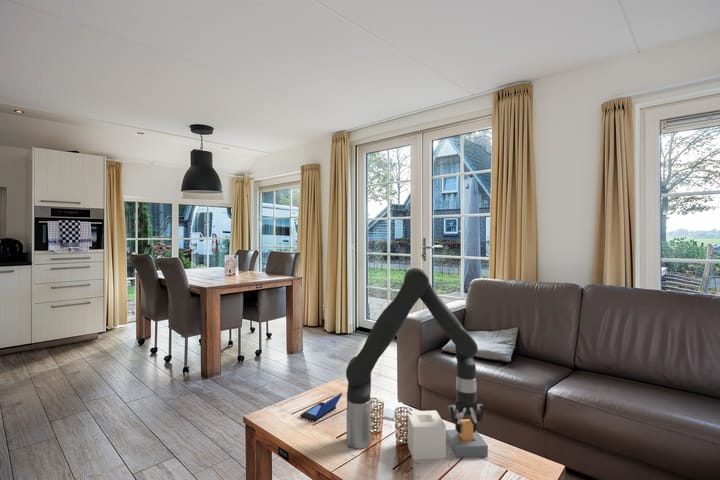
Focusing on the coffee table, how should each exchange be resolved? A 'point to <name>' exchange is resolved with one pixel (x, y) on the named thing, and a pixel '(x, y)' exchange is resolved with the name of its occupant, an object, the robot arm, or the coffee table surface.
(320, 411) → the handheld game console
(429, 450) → the upper stand
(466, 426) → the plug
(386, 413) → the hard drive
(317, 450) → the coffee table surface
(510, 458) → the coffee table surface
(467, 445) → the lower base
